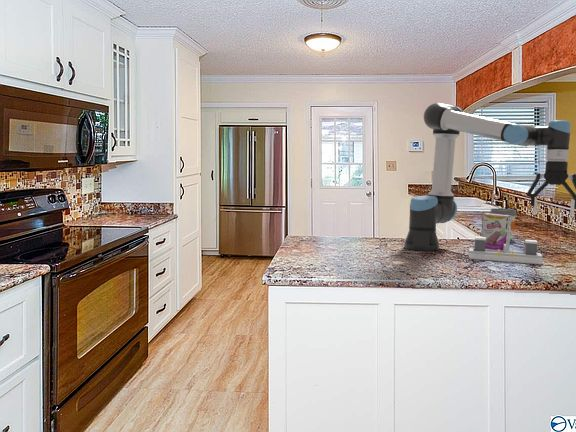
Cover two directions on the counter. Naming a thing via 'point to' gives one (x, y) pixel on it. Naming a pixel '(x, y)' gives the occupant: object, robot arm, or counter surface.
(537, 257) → the switch bank
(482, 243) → the left tab
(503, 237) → the candy bar box
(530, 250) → the right tab
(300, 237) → the counter surface
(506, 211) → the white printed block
